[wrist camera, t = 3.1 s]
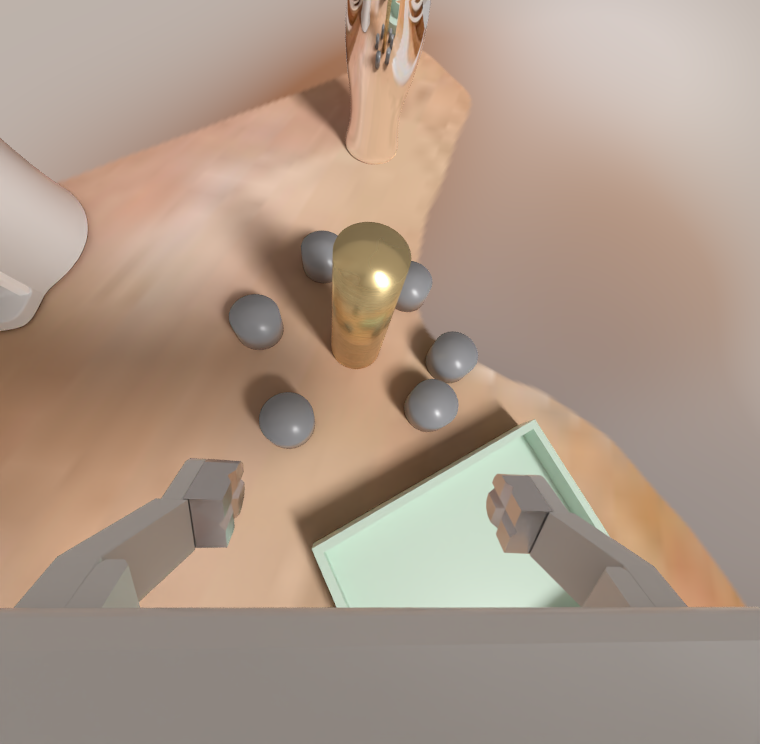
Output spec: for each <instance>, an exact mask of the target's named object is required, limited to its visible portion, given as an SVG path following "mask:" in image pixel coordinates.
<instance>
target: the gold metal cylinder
mask: <svg viewBox="0 0 760 744" xmlns="http://www.w3.org/2000/svg"><path fill="white" fill-rule="evenodd" d="M410 264H411V253H410V249H409V246H408V244H407V242H406V241H405V240H404V238H403V237H402V236H401V235H400V234H399V233H398V232H396V231H395V230H394V229H392V228H390V227H388V226H386V225H383V224H380V223H375V222H362V223H357V224H353V225H351V226H349V227H347V228H346V229H344V230H343V231H342V232H341V233H340V234H339V235H338V236H337V238H336V240H335V242H334V245H333V261H332V338H331V348H332V353H333V355H334V357H335V359H336V360H337V361H338V362H339V363H340V364H342V365H343V366H345V367H348V368H351V369H361V368H365V367H367V366H369V365H371V364H372V363H373V362H374V361H375V360H376V358H377V356H378V354H379V351H380V348H381V346H382V343H383V340H384V337H385V335H386V332H387V329H388V326H389V323H390V321H391V318H392V315H393V312H394V310H395V307H396V304H397V301H398V298H399V296H400V293H401V290H402V287H403V285H404V282H405V279H406V276H407V273H408V271H409V268H410Z"/></svg>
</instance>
